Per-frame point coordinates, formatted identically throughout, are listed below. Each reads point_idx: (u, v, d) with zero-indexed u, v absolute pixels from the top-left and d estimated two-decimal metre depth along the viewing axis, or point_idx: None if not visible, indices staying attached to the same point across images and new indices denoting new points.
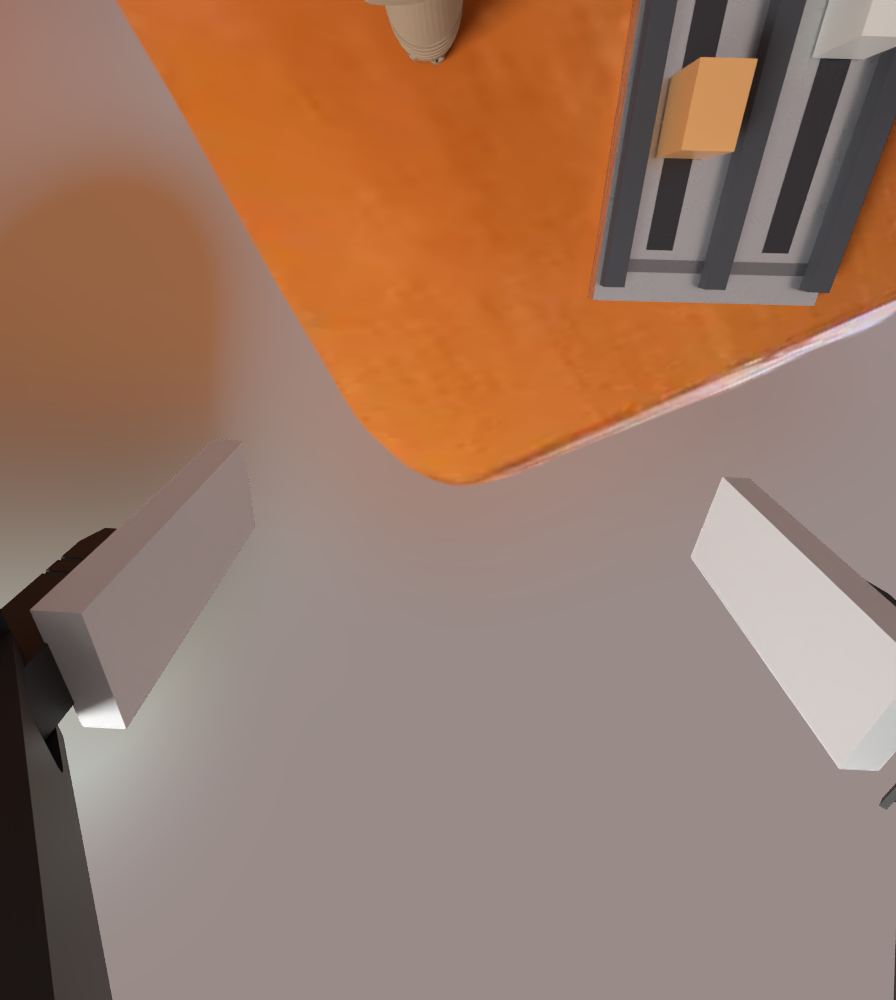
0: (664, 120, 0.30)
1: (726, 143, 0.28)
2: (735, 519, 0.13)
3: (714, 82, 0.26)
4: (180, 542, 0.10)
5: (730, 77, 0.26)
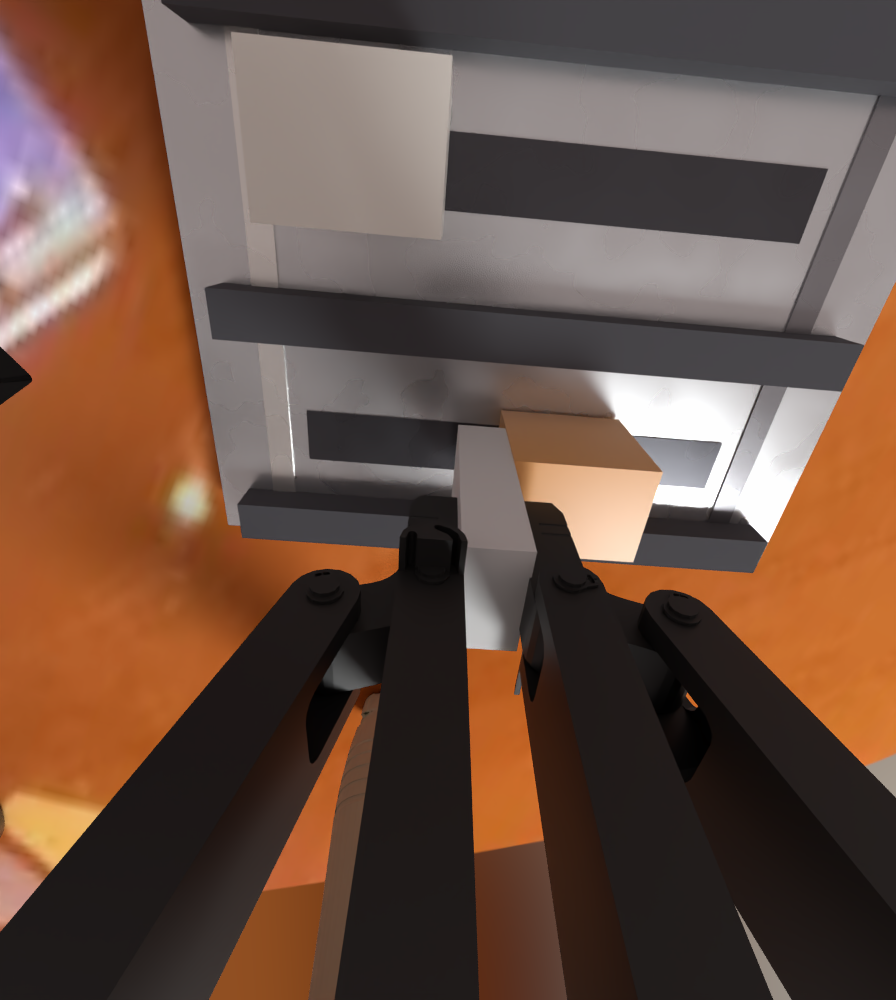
0: None
1: (644, 489, 0.13)
2: None
3: None
4: None
5: None
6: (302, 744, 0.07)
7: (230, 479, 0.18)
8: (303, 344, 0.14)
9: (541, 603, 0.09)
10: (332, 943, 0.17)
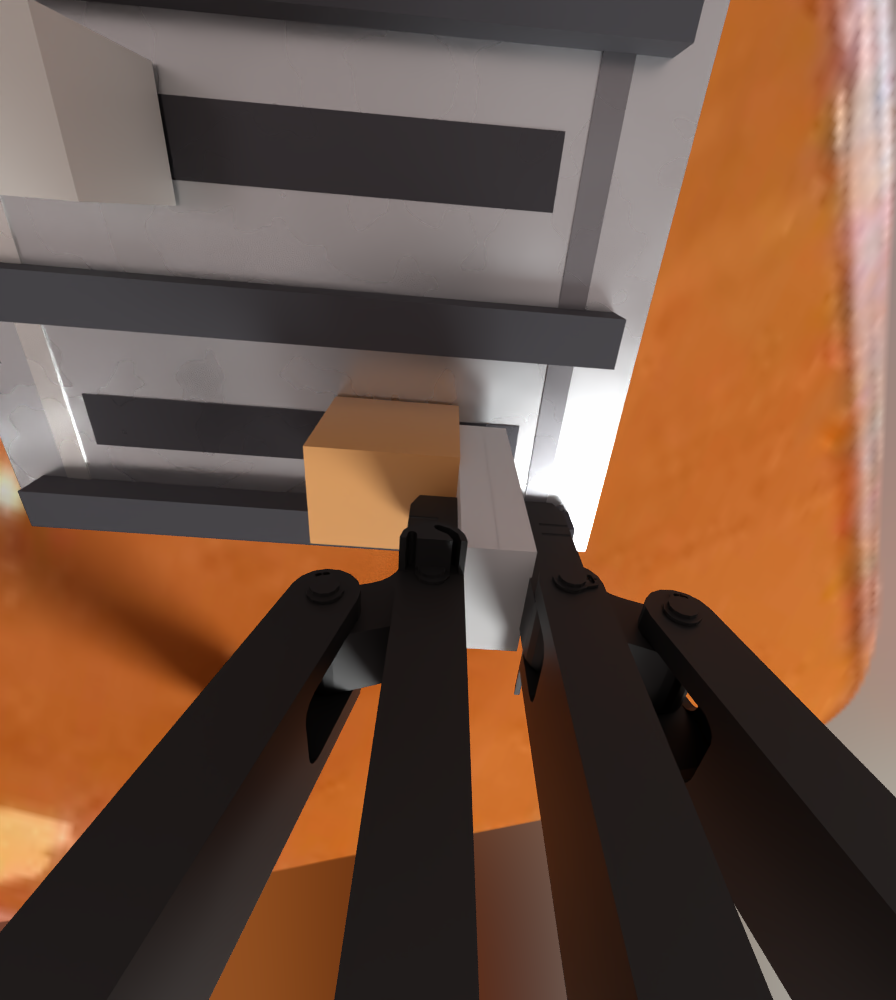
0: None
1: (444, 475, 0.13)
2: None
3: (346, 514, 0.13)
4: None
5: (335, 489, 0.13)
6: (302, 745, 0.07)
7: (21, 466, 0.17)
8: (41, 322, 0.14)
9: (541, 603, 0.09)
10: None
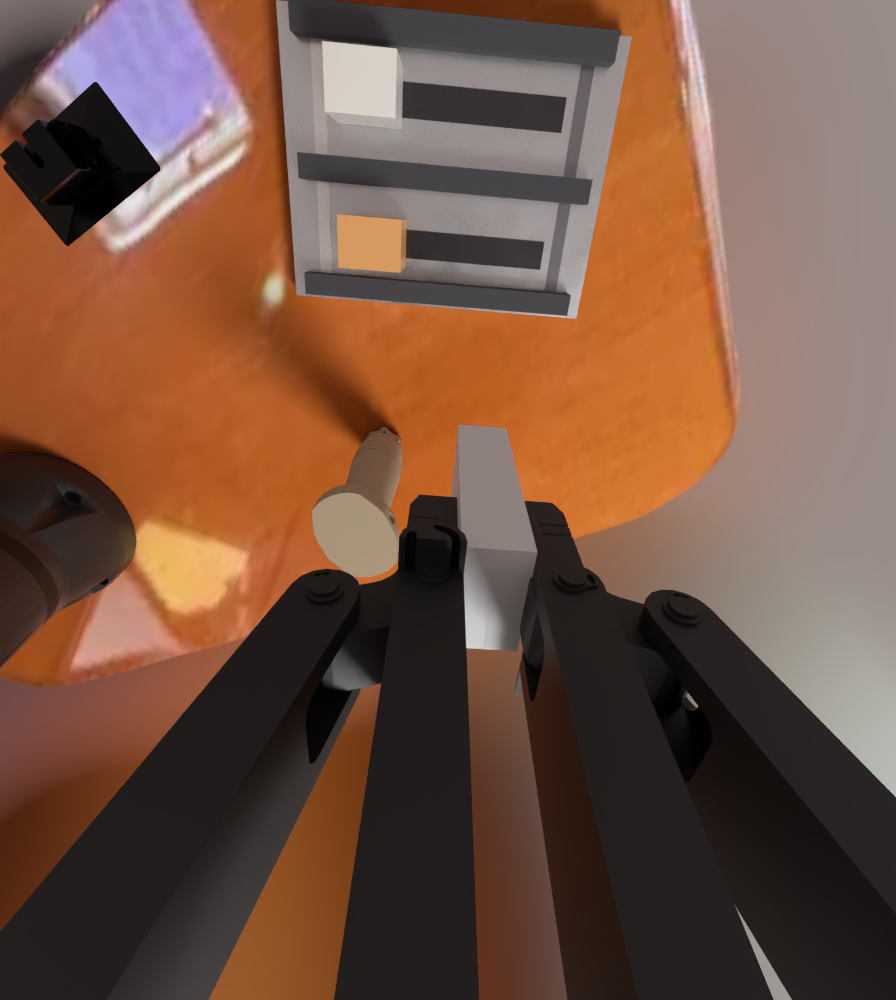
0: None
1: (395, 229, 0.31)
2: None
3: (354, 251, 0.31)
4: None
5: (350, 237, 0.31)
6: (301, 744, 0.07)
7: (299, 265, 0.36)
8: (339, 180, 0.32)
9: (541, 603, 0.09)
10: (351, 483, 0.34)
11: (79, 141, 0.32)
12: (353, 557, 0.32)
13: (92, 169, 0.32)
